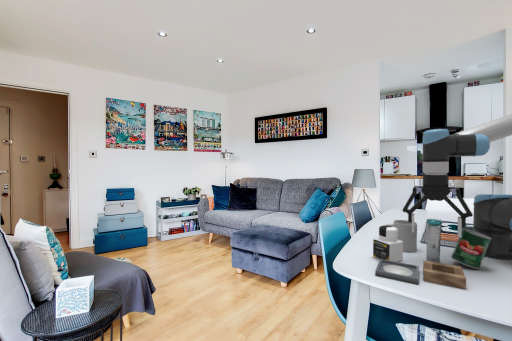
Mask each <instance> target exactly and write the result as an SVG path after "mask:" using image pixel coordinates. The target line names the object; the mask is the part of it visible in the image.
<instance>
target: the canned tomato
mask: <svg viewBox="0 0 512 341" xmlns="http://www.w3.org/2000/svg"><path fill="white" fill-rule="evenodd" d="M490 241H491V238H490V237H489V236H486V235H484V234H481V233H479V232H476V231H473V229H470V228H466V227H462V238H461V237H458V239H457V242H456V245H455V247H454V249H453V252H452V254H451V256H450V258H452V260H454V261H456V262H457V263H460V264H461V265H464V266H467V267H469V268H471V269H475V270H479V269H480V268H481V265H482V262H483V260H484V258H485V256H484V255H485V253H486V251H487V248H488V246H489V243H490Z"/></svg>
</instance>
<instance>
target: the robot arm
mask: <svg viewBox="0 0 512 341" xmlns="http://www.w3.org/2000/svg"><path fill="white" fill-rule="evenodd" d="M510 136H512V113H511V114H508V115H505V116H502V117H499V118H496V119H493V120H490V121H488V122H485V123H482V124H479V125H476V126H473V127H470V128H466V129H464V130H460V131H459V132H455V133H453V134H450V132H449V130H448V129H447V128H445V129H443V128H437V129H435V128H434V129H429V130H425V131H424V132H423V133H422V142H421V144H422V173H423V175H422V187H417V186H413V187H412V193H411V194H410V196H409V198H408V200H407V201H406V203H405V204H404V206H403V208H402V212H403V213H406V214H407V221H408V222H409V223H412V232H413V233H414V222H415V213H414V212H415V211H416V210H417V209H418V208H419V207H420V206H421V205H423V203H425V202H427V200H429V201H438V202H441V201H445V202H446V203H447V204H448V205H449V206H450V208H452V209H453V211H455V212H456V213H457V214H458V215H459V216H457V236H458V238H459V237H461V238H462V228H466V225H467V224H466V220H467V218H470V217H473V221H472V222H473V223H472V225H473V226H472V230H473V231H476V232H479V233H481V234H484V235H486V236H489V237H490V238H491V241H490V243H489V246H488V248H487V251H486V253H485V255H484V257H488V258H493V259H499V260H500V259H501V260H512V194H501V193H500V194H499V193H498V194H497V193H496V194H493V193H492V194H487V193H486V194H484V193H483V194H481V193H480V194H479V193H478V194H476V195H475V196H474V198H473V203H472V204H473V205H472V206H473V213H472V211H471V210H470V208H469V206H468V204H467V203H466V201H465V200H464V197H463V196H462V193H461V189H460V188H459V187H457V188H456V187H455V188H450V187H449V184H450V183H449V182H450V181H449V179H450V178H449V175H448V173H449V171H450V170H449V169H450V168H449V167H450V166H449V165H450V163H449V161H450V158H453V157H481V156H485V155H486V154H487V153H488V152H489V151H490V148H491V142H495V141H497V140H501V139H505V138H507V137H510ZM420 192H421V193H422V195H423V196H422V197H421V198H420V199H419V200H418V201H417V202H416V203H415V204H413V205H412V207H411V208H409V207H410V205H411V203H412V202H413V200H414V199H415V197H416V195H417V194H419V193H420ZM451 193H452V194H453V195H454V196H456V198H457V199H458V201H459V203H460V205H461V206H462V208H463V209H464V211H465V212H463V211H462V210H461V209H460V208H459V207H458V206H457V205H456V204H455V203H454V202H453V201H452V200H451V199H450V198H449V197H448V196H449V194H451Z"/></svg>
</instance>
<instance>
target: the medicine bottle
mask: <svg viewBox="0 0 512 341" xmlns="http://www.w3.org/2000/svg"><path fill="white" fill-rule="evenodd" d="M397 232H398V229H397V228H395V227H393V226H388V225H387V224H386V225H385V224H384V225H380V226H379V227H378V237H375V238H373V239H372V240H373V241H372V242H373V243H372V256H373V258H375V259H377V260H380V259H384V260H390V261H395V262H403V259H404V256H403V255H404V252H403V241H400V240H397Z"/></svg>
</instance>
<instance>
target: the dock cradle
mask: <svg viewBox="0 0 512 341" xmlns="http://www.w3.org/2000/svg"><path fill="white" fill-rule="evenodd" d="M374 272H375V273H374V274H375V275H374V276H376V277H381V278H386V279H391V280H394V281H400V282H404V283H409V284H414V285H418V286H419V285H420V265H416V264H410V263H405V262H402V261H398V262H395V261H390V260H384V259H378V262H377V265H376V269H375V270H374Z"/></svg>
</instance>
